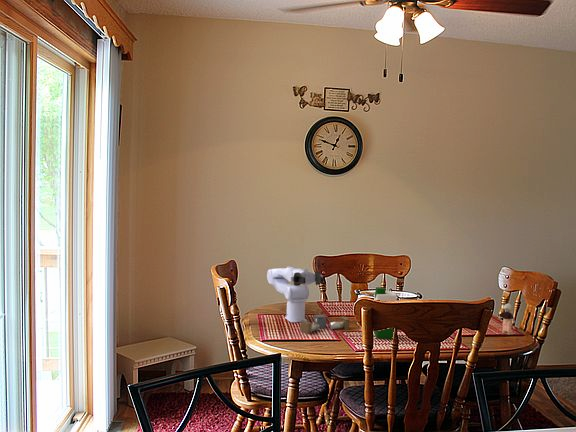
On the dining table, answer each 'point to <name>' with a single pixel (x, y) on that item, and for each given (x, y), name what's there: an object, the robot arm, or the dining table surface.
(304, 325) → the brown lumpy block
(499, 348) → the dining table surface
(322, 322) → the coupler
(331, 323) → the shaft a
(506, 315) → the grandmother figurine
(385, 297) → the milk carton
